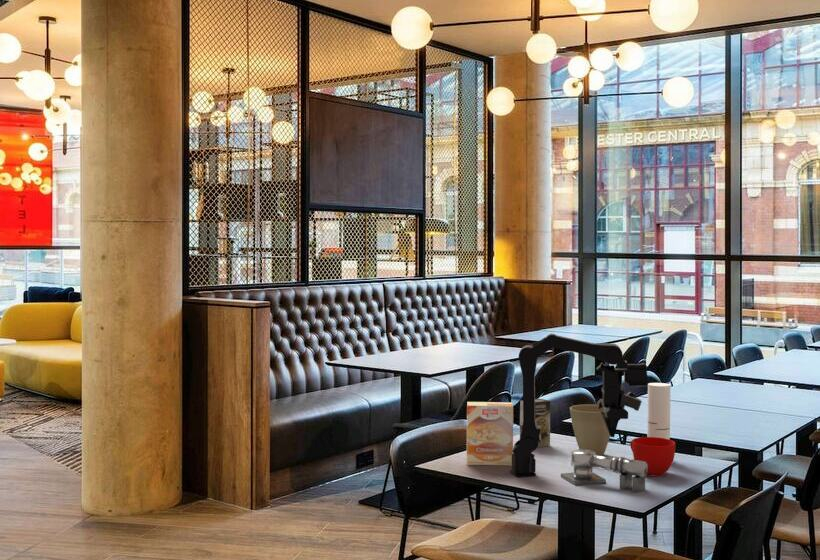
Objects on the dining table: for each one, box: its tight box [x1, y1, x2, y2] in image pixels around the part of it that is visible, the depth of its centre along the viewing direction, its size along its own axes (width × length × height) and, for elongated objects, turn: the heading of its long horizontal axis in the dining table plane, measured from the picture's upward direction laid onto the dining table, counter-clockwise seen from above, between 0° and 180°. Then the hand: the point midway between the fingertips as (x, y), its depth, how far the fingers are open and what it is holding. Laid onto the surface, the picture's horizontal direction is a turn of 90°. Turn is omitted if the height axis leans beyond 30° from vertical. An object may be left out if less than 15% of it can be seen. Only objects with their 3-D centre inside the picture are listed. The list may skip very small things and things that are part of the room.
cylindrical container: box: [646, 382, 671, 440], centre depth 290 cm, size 7×7×25 cm
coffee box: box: [519, 398, 551, 448], centre depth 311 cm, size 9×6×16 cm
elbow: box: [570, 448, 620, 474], centre depth 263 cm, size 15×7×4 cm, turn 48°
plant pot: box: [569, 404, 611, 456], centre depth 297 cm, size 15×15×16 cm
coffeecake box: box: [466, 401, 514, 467], centre depth 286 cm, size 15×7×20 cm, turn 86°
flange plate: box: [560, 467, 607, 486], centre depth 266 cm, size 10×10×4 cm
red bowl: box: [629, 436, 676, 477], centre depth 275 cm, size 13×17×10 cm
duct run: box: [617, 456, 648, 494], centre depth 255 cm, size 8×5×9 cm, turn 50°
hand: (612, 436), depth 267 cm, fingers closed
